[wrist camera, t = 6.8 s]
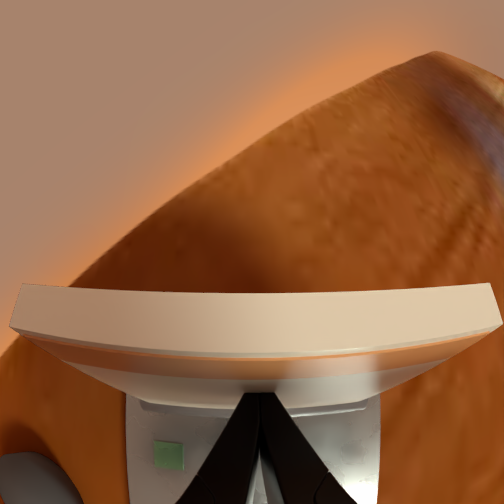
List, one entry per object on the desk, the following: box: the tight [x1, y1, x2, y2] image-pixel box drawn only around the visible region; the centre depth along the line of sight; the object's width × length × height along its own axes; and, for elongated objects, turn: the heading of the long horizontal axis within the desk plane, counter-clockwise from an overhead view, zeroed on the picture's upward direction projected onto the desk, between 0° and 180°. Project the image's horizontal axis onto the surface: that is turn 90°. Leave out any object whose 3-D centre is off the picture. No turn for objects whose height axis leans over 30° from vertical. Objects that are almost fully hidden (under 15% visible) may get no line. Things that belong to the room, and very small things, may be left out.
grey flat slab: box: [126, 393, 380, 504], centre depth 12 cm, size 16×14×1 cm
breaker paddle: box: [9, 283, 503, 418], centre depth 9 cm, size 2×11×11 cm, turn 90°
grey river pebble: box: [0, 451, 84, 504], centre depth 10 cm, size 7×7×2 cm
